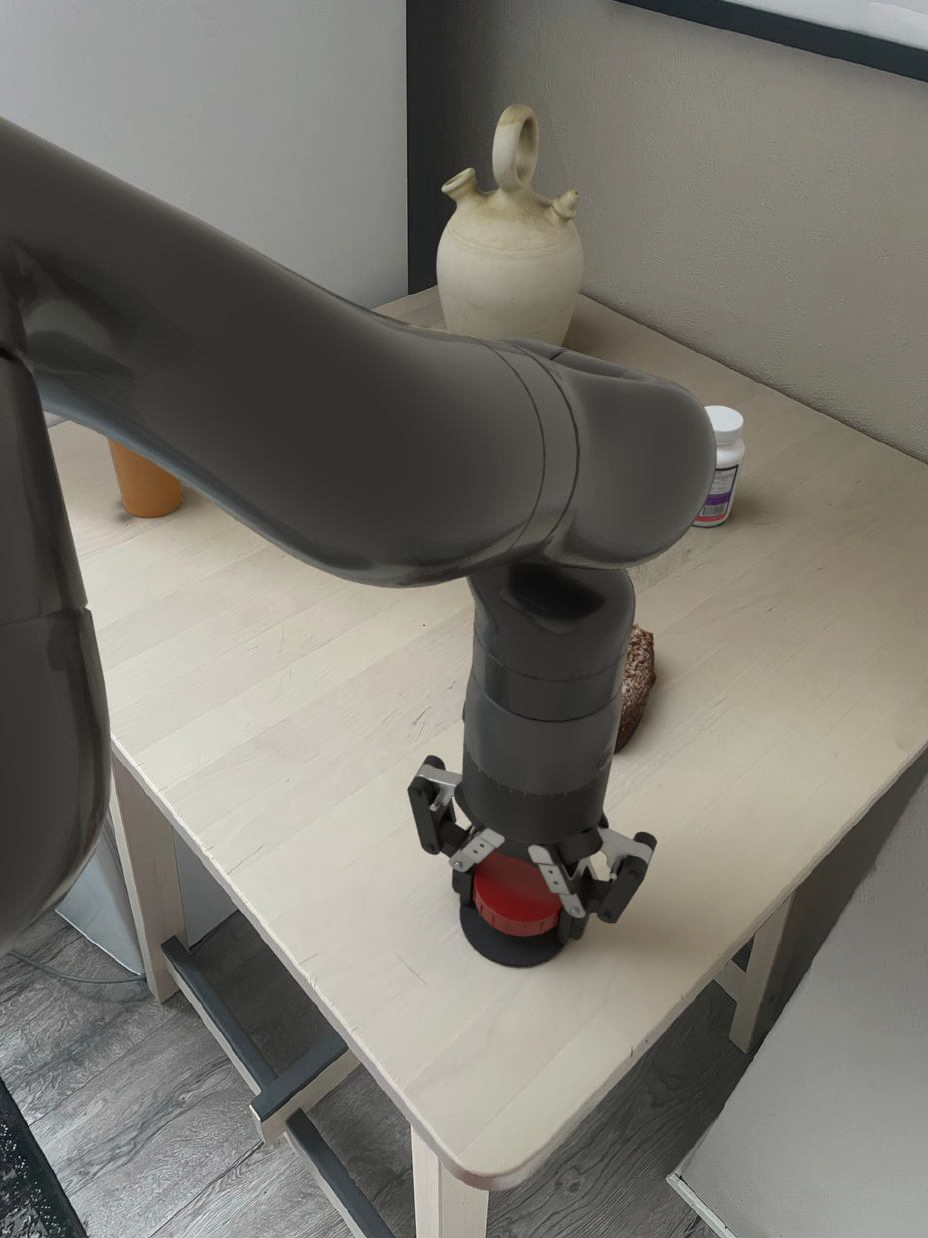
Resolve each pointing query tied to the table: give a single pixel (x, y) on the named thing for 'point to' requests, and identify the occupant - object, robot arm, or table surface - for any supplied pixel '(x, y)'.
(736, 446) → the pill bottle
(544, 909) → the jar lid
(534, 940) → the coaster
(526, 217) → the jug
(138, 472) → the jam jar
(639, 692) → the pastry
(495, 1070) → the table surface
